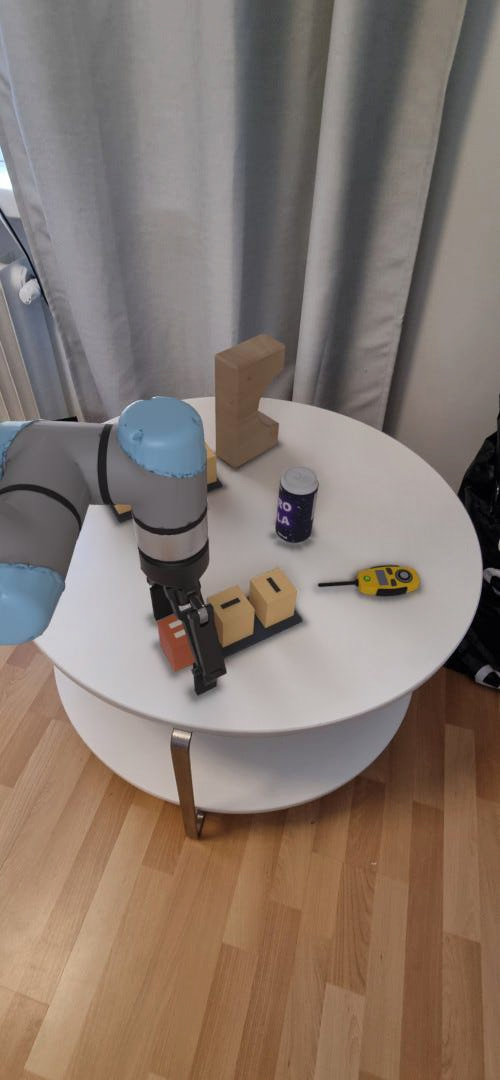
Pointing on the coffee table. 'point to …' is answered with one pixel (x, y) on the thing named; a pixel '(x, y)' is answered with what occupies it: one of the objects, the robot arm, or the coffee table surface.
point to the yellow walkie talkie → (383, 581)
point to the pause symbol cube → (175, 643)
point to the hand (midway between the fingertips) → (183, 650)
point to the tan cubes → (212, 483)
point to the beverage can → (296, 503)
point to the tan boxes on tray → (254, 611)
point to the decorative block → (245, 398)
